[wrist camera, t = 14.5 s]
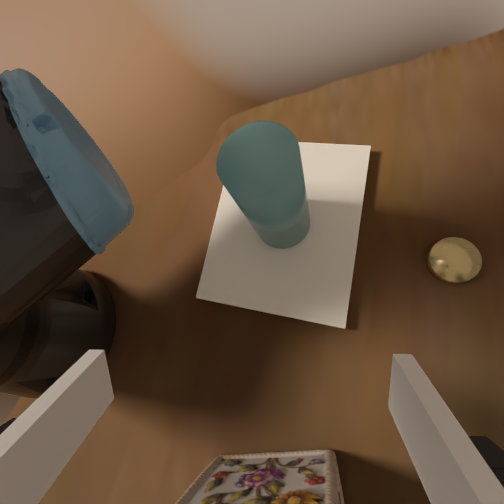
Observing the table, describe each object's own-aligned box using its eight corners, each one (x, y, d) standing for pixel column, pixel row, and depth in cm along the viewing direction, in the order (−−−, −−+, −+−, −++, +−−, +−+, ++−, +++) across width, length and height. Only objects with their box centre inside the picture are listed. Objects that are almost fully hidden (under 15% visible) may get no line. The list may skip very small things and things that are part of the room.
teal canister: (251, 245, 34) (208, 193, 21) (261, 195, 35) (226, 120, 23) (305, 252, 32) (292, 201, 20) (314, 200, 33) (306, 121, 21)
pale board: (199, 298, 35) (195, 297, 33) (237, 144, 39) (234, 139, 38) (344, 328, 30) (345, 328, 29) (369, 151, 34) (370, 145, 33)
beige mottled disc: (434, 288, 30) (438, 286, 29) (419, 246, 31) (423, 243, 30) (483, 278, 29) (489, 276, 28) (465, 235, 30) (471, 232, 29)
